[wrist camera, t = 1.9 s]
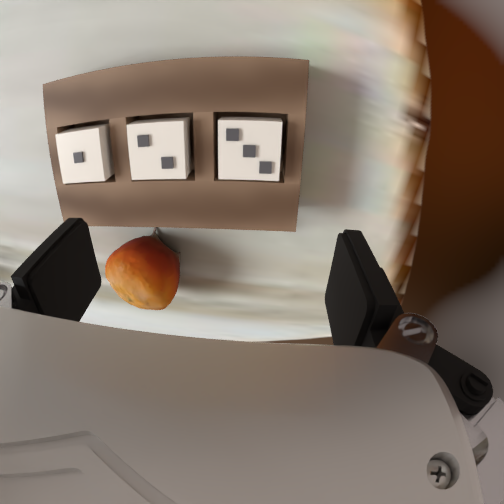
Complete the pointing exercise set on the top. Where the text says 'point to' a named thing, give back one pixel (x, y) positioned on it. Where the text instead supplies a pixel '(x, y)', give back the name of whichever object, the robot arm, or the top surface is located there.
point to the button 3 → (249, 148)
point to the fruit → (144, 272)
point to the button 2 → (159, 148)
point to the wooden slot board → (201, 141)
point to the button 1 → (85, 154)
